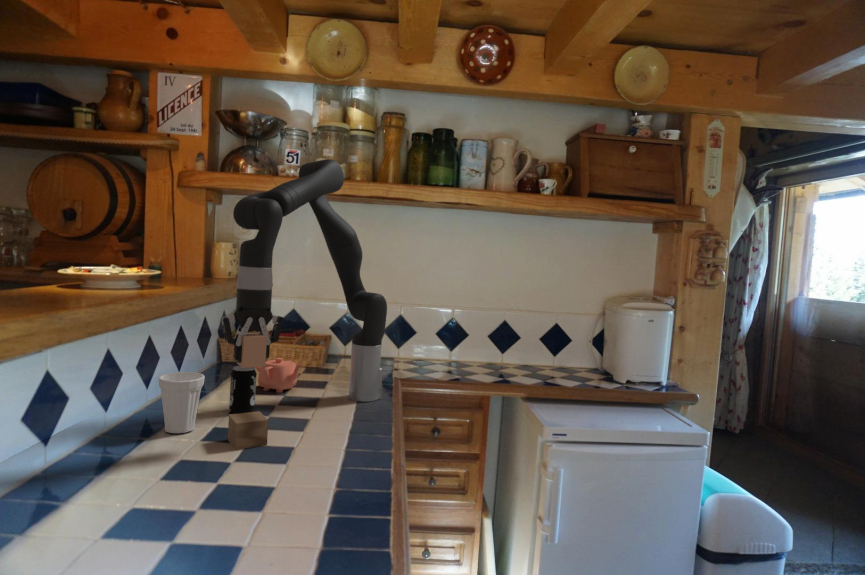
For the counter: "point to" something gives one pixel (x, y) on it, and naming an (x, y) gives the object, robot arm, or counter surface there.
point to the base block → (247, 430)
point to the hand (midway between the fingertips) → (251, 360)
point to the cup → (180, 399)
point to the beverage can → (242, 390)
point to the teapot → (278, 375)
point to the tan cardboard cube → (253, 350)
